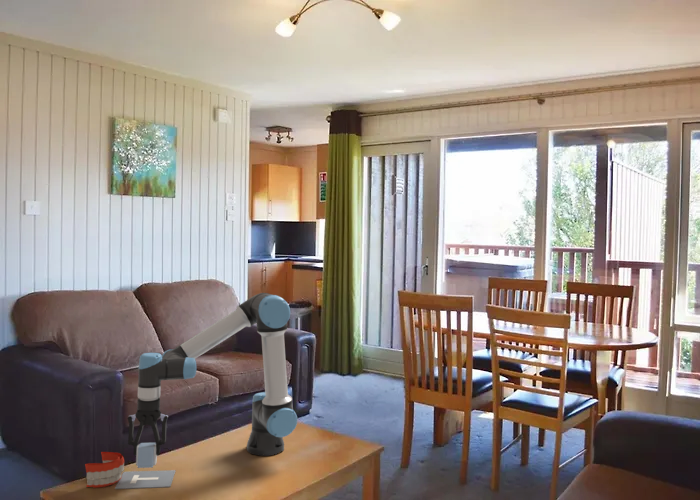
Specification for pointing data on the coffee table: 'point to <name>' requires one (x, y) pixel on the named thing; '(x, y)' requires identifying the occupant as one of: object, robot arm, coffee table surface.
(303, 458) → the coffee table surface
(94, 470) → the toy
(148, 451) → the block
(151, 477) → the letter card
